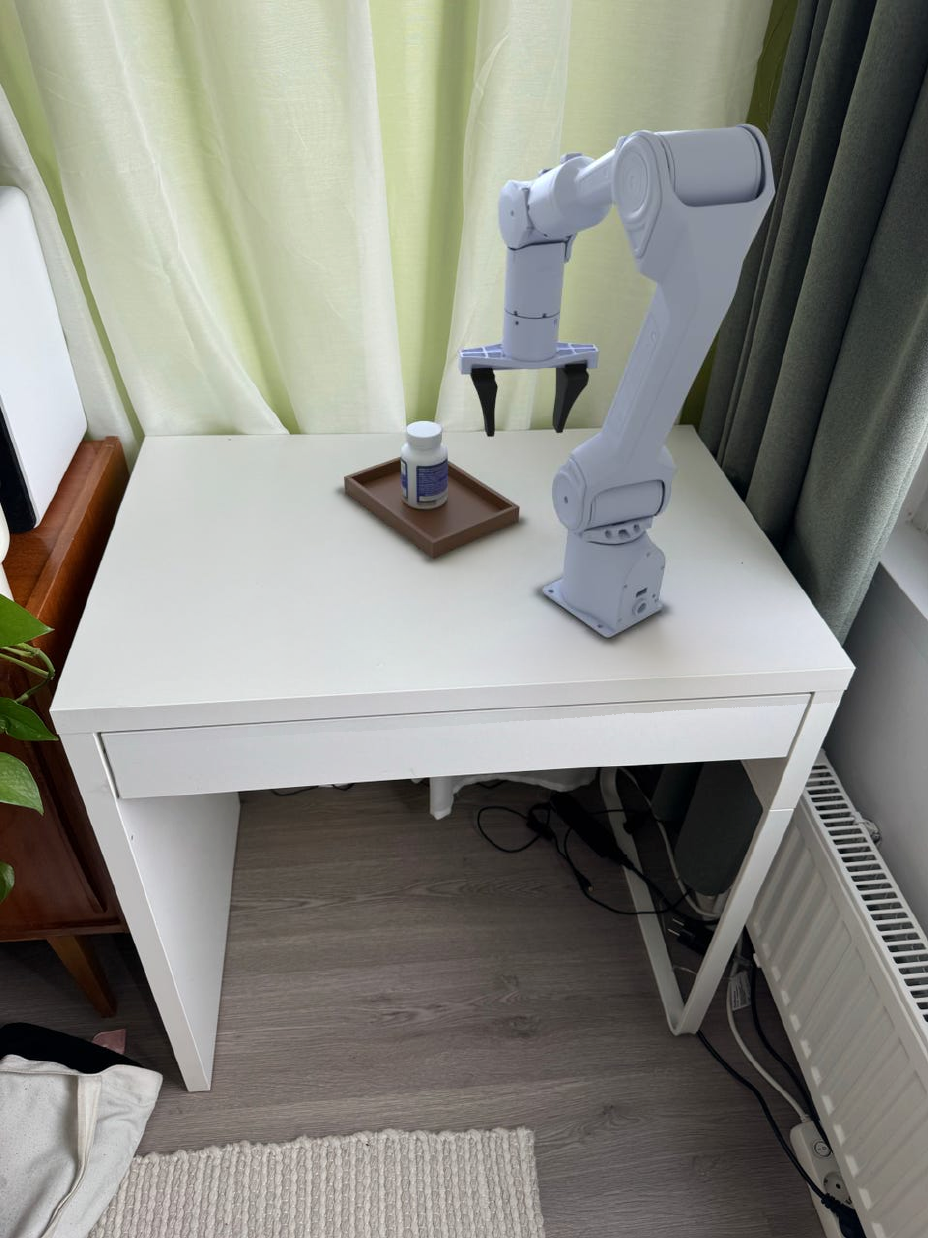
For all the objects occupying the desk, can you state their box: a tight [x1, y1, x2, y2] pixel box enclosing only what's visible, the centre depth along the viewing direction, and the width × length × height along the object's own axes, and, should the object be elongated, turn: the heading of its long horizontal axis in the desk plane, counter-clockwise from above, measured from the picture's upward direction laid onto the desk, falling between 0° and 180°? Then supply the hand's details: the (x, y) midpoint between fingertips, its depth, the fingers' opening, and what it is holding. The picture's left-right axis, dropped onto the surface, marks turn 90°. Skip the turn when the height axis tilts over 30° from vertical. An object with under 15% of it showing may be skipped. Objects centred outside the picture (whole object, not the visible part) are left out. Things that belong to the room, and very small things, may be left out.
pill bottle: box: [400, 420, 449, 509], centre depth 105 cm, size 5×5×9 cm
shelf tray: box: [343, 456, 521, 559], centre depth 106 cm, size 17×12×2 cm
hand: (523, 430), depth 102 cm, fingers open, 7 cm apart
